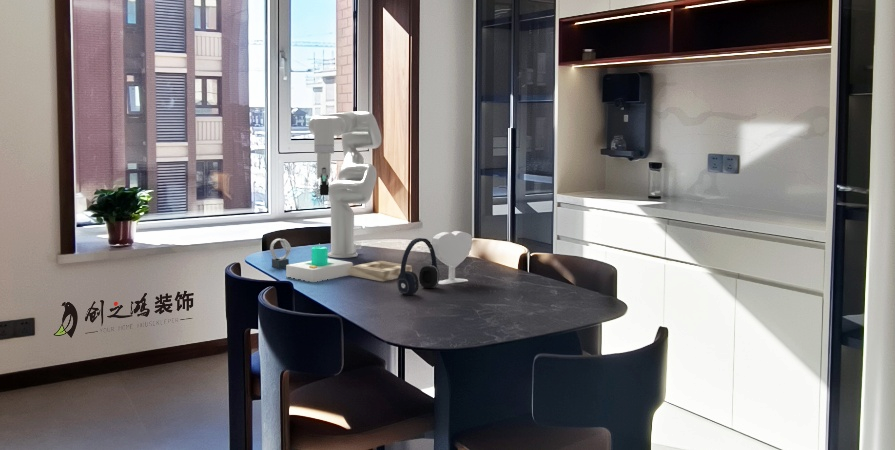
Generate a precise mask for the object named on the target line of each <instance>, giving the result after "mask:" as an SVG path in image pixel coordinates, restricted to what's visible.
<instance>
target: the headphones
mask: <svg viewBox="0 0 895 450" xmlns="http://www.w3.org/2000/svg"><path fill="white" fill-rule="evenodd" d="M420 242H423V243H424V244H425V245H426V246H427V248H428V250H429V253H430V257H431V264H430V265H424V266H422V267H421V268H420V271H419V275H417V274H416V273H415V272H413V271H412V272H411V271H405V269H406V265H407V261H408V258H409V255H410V253H411V251H412V249H413V247H414V246H415V245H416V244H417V243H420ZM400 264H401V270H400V274H399V276H398V278H397V288H398V292H400V294H403V295H405V296H412V295H415V294H416V293H418V292H417V291H419V284H420V286H421V287H423V288H426V289H434V288H436V287H437V286H438V285H439V284H438V282H439V281H440V271H439V269H438V264H437V257H436V256H435V251H434V248H433V246H432V242H431V241H430V240H429V239H428V238H423V237H418V238H417V237H416V238H414V239H412V240H411V241H410V242H409V243H408V244H407V246H406V248H405V250H404V253H403V255H402V259H401V263H400Z"/></svg>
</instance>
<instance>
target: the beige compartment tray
mask: <svg viewBox="0 0 895 450" xmlns="http://www.w3.org/2000/svg"><path fill="white" fill-rule="evenodd" d="M400 270H401V263H395V262H390V261H385V260H375V261H372V262H367V263H361V264H356V265H353V266H351V275H350V277H351V276H352V277H356V278H362V279H368V280H373V281H377V282H387V281H390V280H391V281H392V280H397V279H398V276H399V274H400ZM405 271H411V272H413V265H411V264H410V265H409V264H406V269H405Z"/></svg>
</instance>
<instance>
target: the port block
mask: <svg viewBox="0 0 895 450" xmlns="http://www.w3.org/2000/svg"><path fill="white" fill-rule="evenodd" d="M351 266H354V264H353V262H352V261H345V260H339V259H335V258H328V265H325V266H320V267H319V266H314V265H312V260H308V261H307V260H306V261H300V262H297V263H289V265H286V268H285V271H286V274H285V275H286V276H285V277H286V278H288V277H291V278H290V279H293V278H295V279H294V280H298V279H301V280H300V281H303V280H305V281H304V282H308V281H310V282H309V283H317V281H318V282H322V280H323V281H326V280H327V279H328V280H333V279H337V278H342V277H347V276H351ZM328 280H327V281H328Z"/></svg>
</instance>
